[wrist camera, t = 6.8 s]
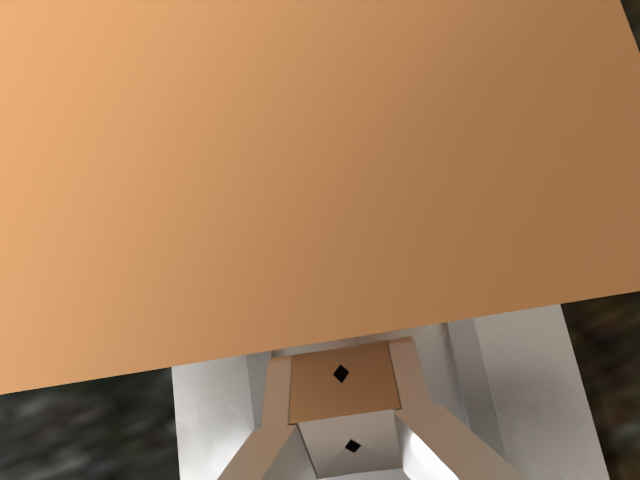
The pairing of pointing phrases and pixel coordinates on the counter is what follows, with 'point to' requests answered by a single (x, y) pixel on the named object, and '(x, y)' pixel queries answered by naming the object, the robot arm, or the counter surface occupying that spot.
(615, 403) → the counter surface
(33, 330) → the orange l-shaped block
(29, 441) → the counter surface
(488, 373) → the grey slide rail
